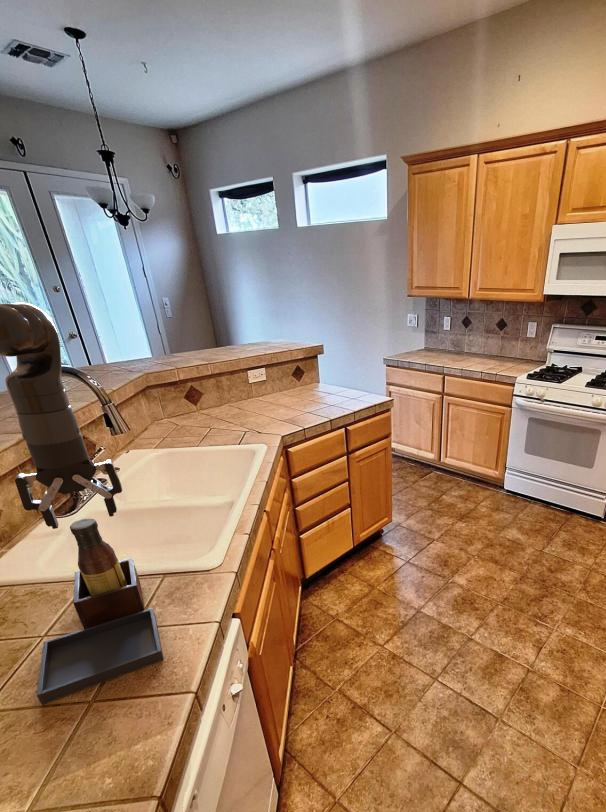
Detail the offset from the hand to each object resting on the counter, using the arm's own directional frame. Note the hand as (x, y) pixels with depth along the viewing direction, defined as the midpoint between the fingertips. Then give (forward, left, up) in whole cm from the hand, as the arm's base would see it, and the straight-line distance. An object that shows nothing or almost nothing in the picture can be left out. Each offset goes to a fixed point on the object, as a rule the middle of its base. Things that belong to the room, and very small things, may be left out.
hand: (84, 520), depth 78 cm
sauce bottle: (0, 0, -20) cm, 20 cm away
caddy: (0, 0, -20) cm, 20 cm away
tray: (-2, -14, -20) cm, 25 cm away
